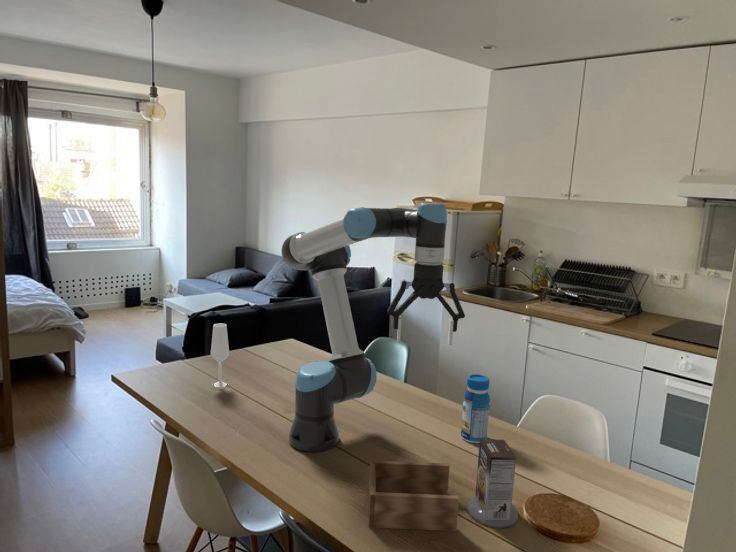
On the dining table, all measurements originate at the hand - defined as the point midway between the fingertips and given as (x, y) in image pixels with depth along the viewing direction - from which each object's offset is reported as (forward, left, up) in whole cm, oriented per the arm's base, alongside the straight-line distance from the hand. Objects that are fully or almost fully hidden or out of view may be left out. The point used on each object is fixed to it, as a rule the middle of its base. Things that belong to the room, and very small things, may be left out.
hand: (424, 342), depth 139 cm
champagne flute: (-70, +55, -37) cm, 96 cm away
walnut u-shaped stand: (-3, -18, -37) cm, 41 cm away
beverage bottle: (+20, +21, -37) cm, 47 cm away
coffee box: (+17, -18, -36) cm, 44 cm away
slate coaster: (+17, -18, -37) cm, 44 cm away
